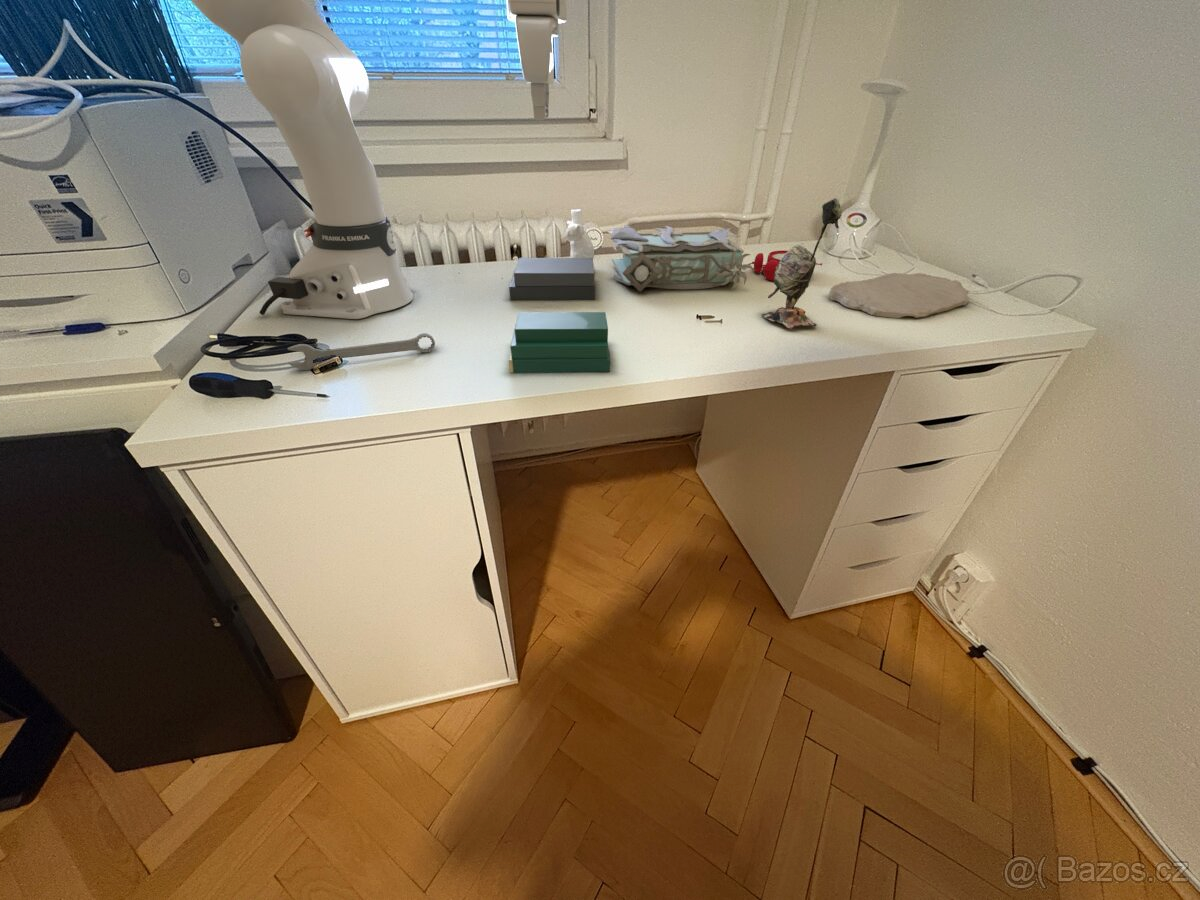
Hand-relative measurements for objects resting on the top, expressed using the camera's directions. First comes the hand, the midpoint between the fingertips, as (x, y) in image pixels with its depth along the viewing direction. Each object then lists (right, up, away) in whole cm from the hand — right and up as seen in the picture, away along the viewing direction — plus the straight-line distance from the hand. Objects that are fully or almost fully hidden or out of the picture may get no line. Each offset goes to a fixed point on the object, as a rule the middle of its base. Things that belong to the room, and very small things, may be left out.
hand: (541, 118), depth 79 cm
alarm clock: (+50, -16, +29) cm, 60 cm away
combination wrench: (-25, -42, -8) cm, 49 cm away
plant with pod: (+43, -31, +7) cm, 54 cm away
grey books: (0, -22, +18) cm, 29 cm away
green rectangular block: (+4, -41, -7) cm, 42 cm away
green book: (+4, -38, -9) cm, 39 cm away
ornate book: (+27, -17, +27) cm, 41 cm away
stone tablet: (+71, -25, +17) cm, 77 cm away
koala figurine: (+5, -13, +30) cm, 34 cm away
